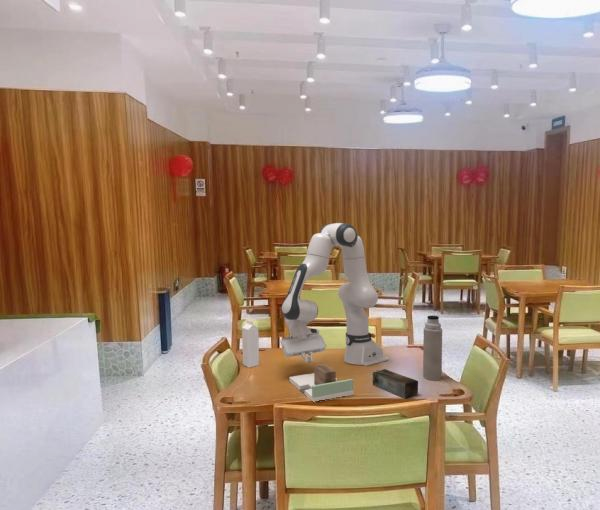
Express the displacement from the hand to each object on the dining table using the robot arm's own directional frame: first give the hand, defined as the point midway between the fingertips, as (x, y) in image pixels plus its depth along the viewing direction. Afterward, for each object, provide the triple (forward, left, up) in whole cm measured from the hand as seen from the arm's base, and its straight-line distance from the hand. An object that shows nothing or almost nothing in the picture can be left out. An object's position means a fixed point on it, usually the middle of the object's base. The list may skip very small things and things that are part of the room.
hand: (309, 361), depth 199 cm
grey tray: (+1, +12, -8) cm, 14 cm away
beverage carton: (-27, +27, -8) cm, 39 cm away
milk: (+19, -30, -8) cm, 36 cm away
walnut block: (+1, +16, -6) cm, 17 cm away
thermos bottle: (-50, +22, -8) cm, 56 cm away
